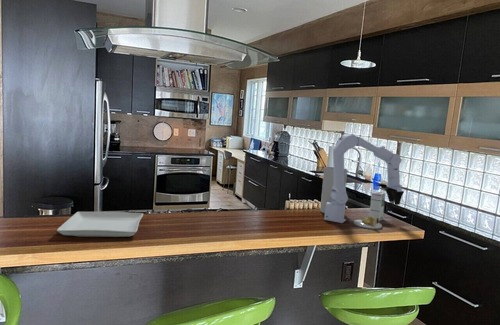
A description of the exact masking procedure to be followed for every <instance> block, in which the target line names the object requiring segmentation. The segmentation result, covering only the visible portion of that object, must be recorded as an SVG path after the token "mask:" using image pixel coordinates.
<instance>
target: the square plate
mask: <svg viewBox="0 0 500 325" xmlns="http://www.w3.org/2000/svg"><path fill="white" fill-rule="evenodd" d="M143 217H144V213H141V212H124V211H122V212H121V211H77V212H75V213H74V214H73V215H72V216H70V217H69V218H68V219H67V220H66V221H65V222H64V223H62V225H59V227H58V228H57V229H56V231H57V232H58V233H59V234H60V235H63V236H73V237H91V238H92V237H93V238H94V237H95V238H97V237H98V238H99V237H103V238H105V237H108V238H111V237H113V238H118V237H119V238H120V237H121V238H124V237H131V236H134V235H135V234H136V233H137V232H138V229H139V226H140V222H141V221H142V218H143Z"/></svg>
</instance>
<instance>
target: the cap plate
mask: <svg viewBox="0 0 500 325" xmlns="http://www.w3.org/2000/svg"><path fill="white" fill-rule="evenodd" d="M378 219H379V218H377V222H376V226H373V225H371V224H366V223H363V222H362V219H354V221H353V225H355V227H356V226H357V227H358V228H362V229H367V230H381V229H382V228H383V227H382V226H383V225H382V224H381V223H380V222H379V221H378Z"/></svg>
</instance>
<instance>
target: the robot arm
mask: <svg viewBox="0 0 500 325" xmlns="http://www.w3.org/2000/svg"><path fill="white" fill-rule="evenodd" d="M355 147H362V148H364V149H366V150H368V151H369V152H372V154H373V155H374V157H376V158H378V159H380V160H382V161H384V162H385V163H386V172H387V173H386V174H387V182H386V187H384V190H385V192H386V193H385V194H386V195H387V198H388V202H390V203H391V202H393V203H394V205H395V206H398V205H400V204H401V200H402V197H403V195H404V190H402V189H403V188H402V187H403V185H402V184H401V181H400V180H401V178H400V177H401V176H400V175H401V174H400V165H401V162H402V158H401V156H400V155H399V154H397V153H394V152H393V150H389V149H387V148H386V146H384V145H379V146H376V145H375V144H373V143H371V142H369V141H368V140H365V139H364V138H362V137H360V136H357V135H355V134H347V133H346V134H345V133H344V134H342V135H341V136H340V137H339V138H337V142H336V143H335V146H334V148H333V150H332V152H333V154H332V155H333V156H332V159H333V165H332V167H333V173H334V185H333V186H332V191H331V193H330V197H331V199H332V200H331V202H327V204H326V207H325V213H324V217H323V218H324V219H323V220H325V221H329V222H335V223H339V224H343V223H344V222H345V221H347V219H346V218H345V212H346V203H347V202H348V200H349V196H348V194H347V189H346V188H345V186H344V169H345V153H347V152H348V151H349V150H351V149H353V148H355Z"/></svg>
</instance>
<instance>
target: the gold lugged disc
mask: <svg viewBox="0 0 500 325" xmlns="http://www.w3.org/2000/svg"><path fill="white" fill-rule="evenodd" d="M369 216H370V215H369ZM369 216H367V217H365V216H362V218H361V220H362V222H363V223H366V224H371V225H373V226H376V222H377V218H375V217H371V216H370V217H369Z"/></svg>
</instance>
